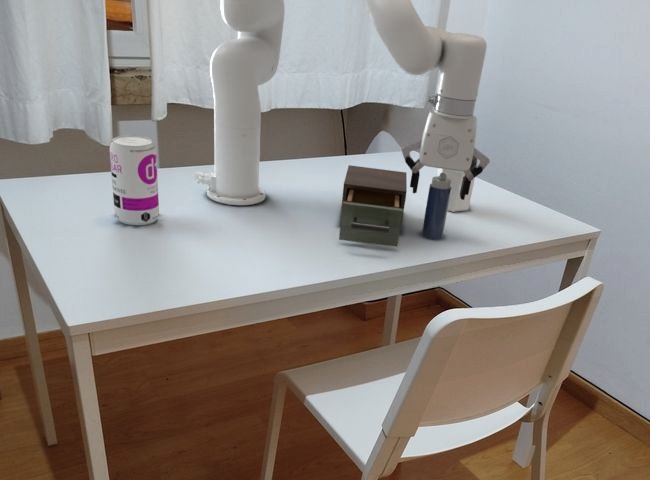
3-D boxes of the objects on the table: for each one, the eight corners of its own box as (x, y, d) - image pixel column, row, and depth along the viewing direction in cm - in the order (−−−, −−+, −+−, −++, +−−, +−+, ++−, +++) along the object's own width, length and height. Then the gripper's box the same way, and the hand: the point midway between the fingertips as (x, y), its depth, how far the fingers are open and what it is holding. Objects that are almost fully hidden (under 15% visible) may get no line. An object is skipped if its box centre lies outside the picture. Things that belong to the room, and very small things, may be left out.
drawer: (397, 255, 126) (402, 218, 122) (336, 248, 126) (340, 210, 122) (398, 224, 140) (403, 190, 137) (343, 217, 140) (347, 183, 137)
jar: (447, 213, 152) (456, 161, 146) (424, 201, 158) (433, 150, 152) (476, 209, 157) (486, 158, 151) (453, 198, 163) (462, 148, 156)
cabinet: (400, 234, 138) (406, 191, 133) (339, 227, 138) (343, 183, 133) (400, 212, 150) (406, 172, 145) (344, 205, 150) (348, 165, 145)
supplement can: (168, 218, 132) (165, 141, 124) (139, 230, 126) (134, 149, 118) (135, 208, 135) (130, 132, 127) (105, 219, 128) (98, 140, 120)
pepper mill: (421, 238, 138) (432, 174, 131) (421, 230, 141) (431, 168, 135) (443, 240, 138) (454, 177, 131) (442, 233, 141) (453, 171, 135)
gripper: (409, 104, 123) (395, 194, 132) (502, 116, 123) (482, 206, 132) (408, 96, 129) (395, 183, 138) (497, 108, 129) (478, 194, 138)
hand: (438, 194), depth 135 cm, fingers open, 9 cm apart
